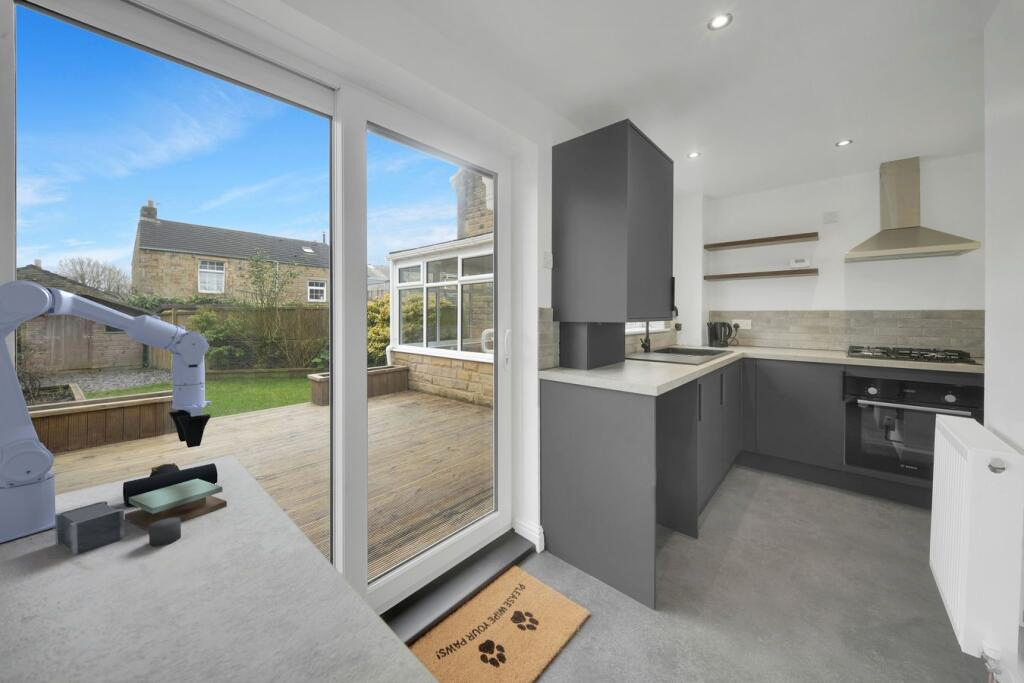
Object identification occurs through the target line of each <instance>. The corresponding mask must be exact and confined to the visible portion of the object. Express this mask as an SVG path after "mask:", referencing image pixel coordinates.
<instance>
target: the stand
mask: <svg viewBox="0 0 1024 683" xmlns="http://www.w3.org/2000/svg"><path fill="white" fill-rule="evenodd" d="M219 493H223V486H222V485H218V484H216V485H215V484H212V483H209V482H206V481H203V480H200V479H194V480H190V481H187V482H183V483H180V484H176V485H172V486H169V487H165V488H162V489H158V490H154V491H151V492H147V493H143V494H140V495H136V496H133V497H129V503H130V504H132V505H131V506H135V507H137V508H139V509H135V510H133V511H130V512H127V513H124V521H125V520H126V521H128V522H129V523H131V524H133V525H136V527H139V528H141V529H143V530H145V531H147V532H149V526H150V525H151V524H153V523H155V522H157V521H160V520H163V519H167V518H180V519H181V523H182V522H185V521H189V520H191V519H193V518H196V517H199V516H203V515H205V514H208V513H211V512H213V511H217V510H220V509H222V507H223V508H225V507H228V502H227V500H225V499H222V498H219V497H217V496H213V495H216V494H219Z"/></svg>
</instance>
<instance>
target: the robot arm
mask: <svg viewBox="0 0 1024 683" xmlns="http://www.w3.org/2000/svg"><path fill="white" fill-rule="evenodd" d="M45 312H46V315H47V316H62V315H66V316H68V315H69V316H70V315H71V316H75V317H77V318H78V317H79V318H82V319H85V320H89V321H90V322H91V321H93V322H95V323H98V324H101V325H105V326H108V327H112V328H116V329H118V330H122V331H124V332H125V333H126V335H127V337H128V338H129V340H131V341H134V342H138V343H141V344H144V345H147V346H149V347H153V348H156V349H160V350H163V351H169V352H170V353H171V354H172V366H171V367H172V368H171V369H172V371H171V372H172V376H171V377H172V378H171V379H172V404H171V409H172V410H175V411H170V412H168V414H169V416H170V418H171V419H172V420H173V421H172V422H173V423H174V426H175V429H176V432H177V436H178V439H179V442H180V443H182V442H185V443H186V444H185V445H186V447H187V448H189V449H190V448H196V447H200V446H201V444H202V439H203V437H204V432H205V429H206V426H207V424H208V422H209V421H210V419H211V415H212V414H211V413H207V414H206V413H205V414H203V413H204V409H203V408H205V407H207V406H211V405H212V401H211V400H206V368H205V366H206V364H205V354H206V353H208V350H209V348H210V343H209V342H208V340H207V338H206V337H205V336H204V335H203V334H202V333H200V332H197V331H187V330H186V326H183V325H175V324H171V323H170V322H166V321H163V320H161V317H160V316H158V315H156V314H151V316H150V315H148V314H141V315H139V316H132V315H130V314H126V313H124V312H121V311H119V310H116V309H113V308H110V307H108V306H106V305H104V304H101V303H98V302H95V301H93V300H90V299H88V298H85V297H82V296H79V295H77V294H75V293H72V292H69V291H65V290H61V289H58V288H54V287H50V286H46V287H44V286H42V285H40V284H39V283H36V282H34V281H29V280H22V279H21V280H11V281H7V282H5V283H2V284H1V285H0V544H2V543H5V542H9V541H12V540H15V539H19V538H23V537H25V536H30V535H32V534H37V533H39V532H43V531H47V530H49V529H53V528H55V514H57V513H56V484H55V483H56V479H55V478H56V477H55V471H54V470H51V469H52V468H53V466H54V462H55V457H54V455H53V453H52V452H51V451H50V450H49V449H47V448H46V446H45V445H44V444H43V443H42V442H40V439H39V437H38V434H37V432H36V429H35V426H34V424H33V420H32V419H31V416H30V412H29V409H28V406H27V403H26V400H25V397H24V394H23V391H22V390H23V389H22V387H21V384H20V381H19V378H18V375H17V372H16V369H15V366H14V363H13V359H12V357H11V353H10V351H9V347H8V344H7V340H6V337H7V338H8V336H9V335H10V334H11V333H13V332H14V331H15V330H17V328H19V327H20V326H21V324H22V323H25V322H26V321H29V320H31V319H34V318H36V317H38V316H40V315H42V314H44V313H45Z"/></svg>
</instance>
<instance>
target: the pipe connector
mask: <svg viewBox="0 0 1024 683" xmlns="http://www.w3.org/2000/svg"><path fill="white" fill-rule="evenodd" d="M218 477H219V476H218V468H217V466H216V464H215V463H208V464H207V463H206V464H203V465H199V466H194V467H193V466H192V467H189V468H184V469H180V468H179V467H178V465H177V464H176V463H174V462H173V463H163V464H160V465H158V466H154V467H151V472H150V475H149V476H146V477H142V478H138V479H133V480H128V481H124V482H123V484H122V499H123V505H124V506H125V507H131V506H133V505H132V504H130V503H129V497H133V496H136V495H140V494H143V493H147V492H151V491H154V490H158V489H162V488H165V487H169V486H172V485H176V484H180V483H183V482H187V481H190V480H194V479H200V480H203V481H206V482H209V483H212V484H215V483H218Z"/></svg>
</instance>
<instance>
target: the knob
mask: <svg viewBox="0 0 1024 683" xmlns="http://www.w3.org/2000/svg"><path fill="white" fill-rule="evenodd" d="M181 523H182V522H181V519H180V518H167V519H163V520H160V521H157V522H155V523H153V524H151V525H150V526H149V531H148V534H149V536H148V538H149V539H148V540H149V543H148V544H149V546H150V547H153V548H158V547H163V546H167V545H170V544H173V543H176V542H177V541H179V540H180V539H181V538H182V524H181Z"/></svg>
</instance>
